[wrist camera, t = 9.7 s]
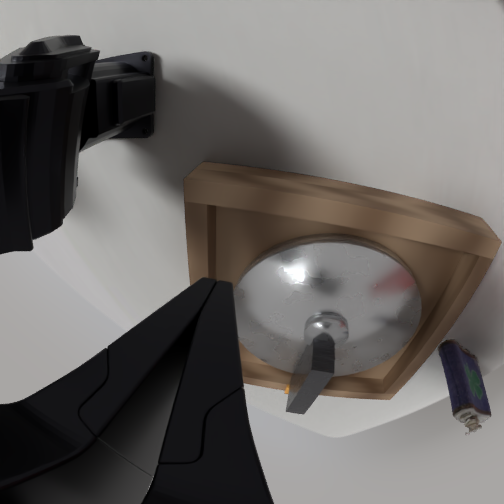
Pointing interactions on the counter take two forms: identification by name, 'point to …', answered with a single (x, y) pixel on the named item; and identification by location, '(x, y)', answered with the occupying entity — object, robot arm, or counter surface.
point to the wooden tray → (340, 222)
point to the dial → (325, 309)
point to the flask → (464, 385)
